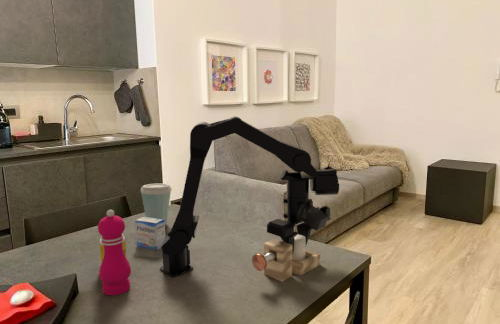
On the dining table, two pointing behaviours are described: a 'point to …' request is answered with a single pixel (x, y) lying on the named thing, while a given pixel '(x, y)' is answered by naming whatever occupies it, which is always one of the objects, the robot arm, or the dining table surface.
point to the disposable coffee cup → (156, 200)
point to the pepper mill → (113, 256)
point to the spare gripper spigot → (299, 248)
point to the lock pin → (263, 260)
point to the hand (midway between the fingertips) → (297, 251)
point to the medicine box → (150, 233)
